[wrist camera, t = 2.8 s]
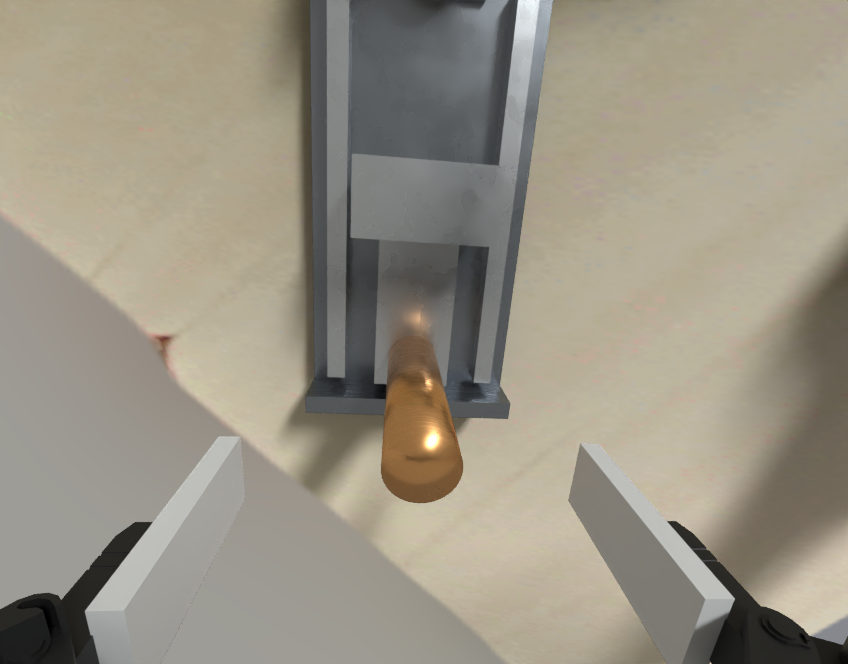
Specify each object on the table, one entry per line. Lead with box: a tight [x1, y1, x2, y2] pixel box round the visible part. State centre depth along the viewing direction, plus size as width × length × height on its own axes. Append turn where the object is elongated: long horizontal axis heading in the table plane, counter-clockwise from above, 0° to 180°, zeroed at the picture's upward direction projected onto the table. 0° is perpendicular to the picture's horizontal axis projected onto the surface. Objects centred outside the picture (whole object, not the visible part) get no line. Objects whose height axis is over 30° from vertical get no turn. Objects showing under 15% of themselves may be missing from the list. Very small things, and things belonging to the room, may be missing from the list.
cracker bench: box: [305, 0, 553, 419], centre depth 22 cm, size 36×14×9 cm, turn 176°
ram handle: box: [351, 153, 505, 503], centre depth 21 cm, size 14×8×14 cm, turn 176°
